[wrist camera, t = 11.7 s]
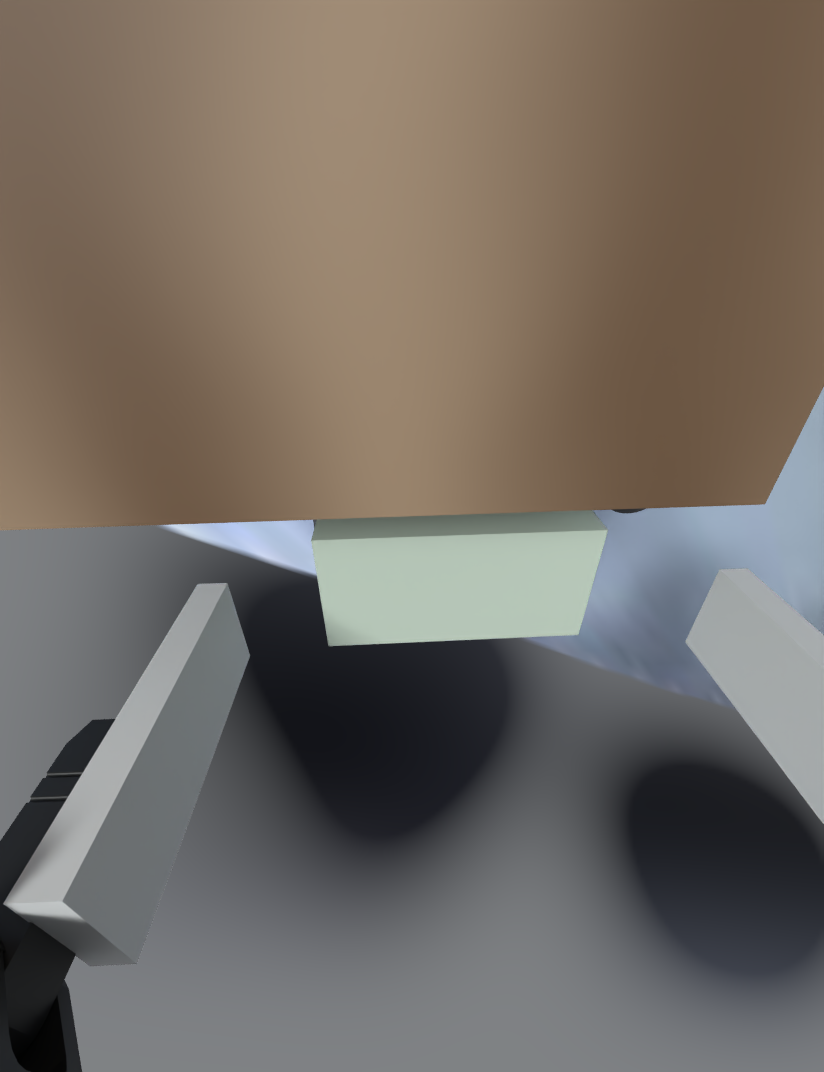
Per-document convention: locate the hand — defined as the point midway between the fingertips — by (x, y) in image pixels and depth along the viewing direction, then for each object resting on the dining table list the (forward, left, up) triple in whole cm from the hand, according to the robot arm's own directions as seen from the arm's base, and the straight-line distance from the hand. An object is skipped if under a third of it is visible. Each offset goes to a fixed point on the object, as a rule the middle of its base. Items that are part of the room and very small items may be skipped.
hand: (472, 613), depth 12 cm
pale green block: (0, 0, -12) cm, 12 cm away
